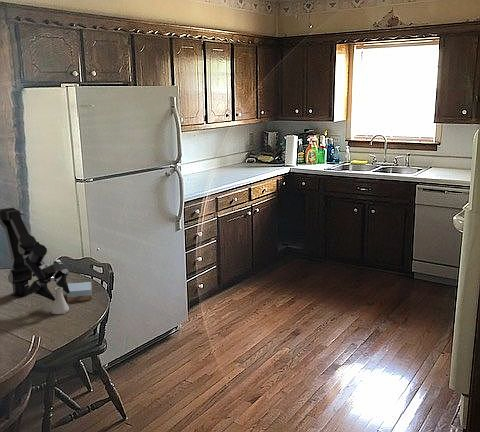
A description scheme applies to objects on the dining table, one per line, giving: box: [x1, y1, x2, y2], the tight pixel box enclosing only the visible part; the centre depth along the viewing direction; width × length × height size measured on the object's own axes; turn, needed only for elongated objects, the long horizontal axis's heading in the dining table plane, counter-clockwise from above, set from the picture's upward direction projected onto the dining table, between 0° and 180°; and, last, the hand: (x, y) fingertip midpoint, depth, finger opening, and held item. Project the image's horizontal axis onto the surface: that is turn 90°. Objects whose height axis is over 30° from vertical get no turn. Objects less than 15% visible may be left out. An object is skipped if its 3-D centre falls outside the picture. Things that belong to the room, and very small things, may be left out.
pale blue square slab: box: [66, 281, 93, 298], centre depth 235 cm, size 10×10×2 cm
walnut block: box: [66, 290, 93, 303], centre depth 235 cm, size 10×10×2 cm
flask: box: [51, 286, 70, 315], centre depth 218 cm, size 7×7×10 cm
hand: (61, 296), depth 218 cm, fingers open, 8 cm apart
